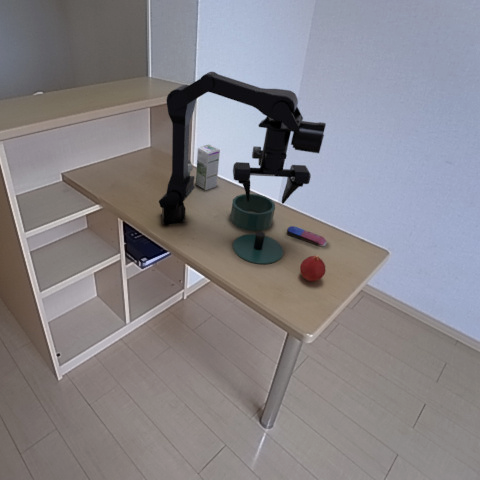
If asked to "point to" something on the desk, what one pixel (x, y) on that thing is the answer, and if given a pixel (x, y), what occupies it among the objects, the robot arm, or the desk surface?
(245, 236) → the lid
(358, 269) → the desk surface
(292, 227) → the eraser
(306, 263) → the onion
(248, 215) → the pot
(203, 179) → the syrup box
